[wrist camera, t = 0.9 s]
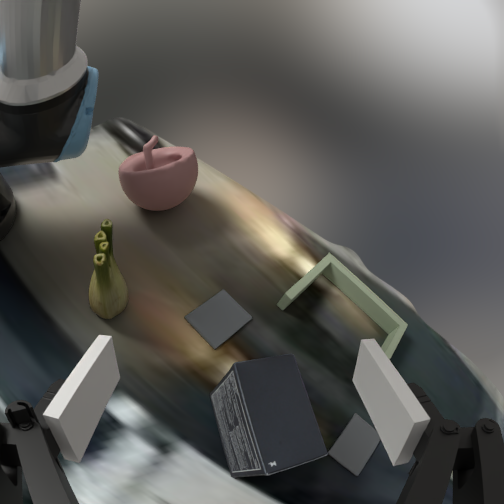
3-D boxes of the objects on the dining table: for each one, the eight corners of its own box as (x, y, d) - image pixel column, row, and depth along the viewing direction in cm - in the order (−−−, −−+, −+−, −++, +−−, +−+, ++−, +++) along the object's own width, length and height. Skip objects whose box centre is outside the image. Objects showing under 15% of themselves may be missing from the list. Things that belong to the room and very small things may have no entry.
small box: (285, 464, 30) (333, 455, 23) (230, 479, 28) (264, 479, 20) (260, 383, 36) (297, 350, 29) (207, 392, 34) (230, 361, 26)
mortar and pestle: (153, 169, 55) (162, 113, 47) (204, 202, 53) (221, 145, 45) (103, 199, 47) (104, 137, 39) (156, 240, 45) (165, 177, 37)
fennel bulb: (106, 278, 39) (101, 211, 30) (137, 295, 39) (141, 231, 30) (81, 311, 35) (66, 248, 26) (114, 331, 35) (108, 272, 26)
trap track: (184, 317, 39) (187, 305, 37) (293, 239, 54) (300, 227, 52) (356, 476, 31) (370, 474, 29) (420, 356, 46) (432, 349, 44)
